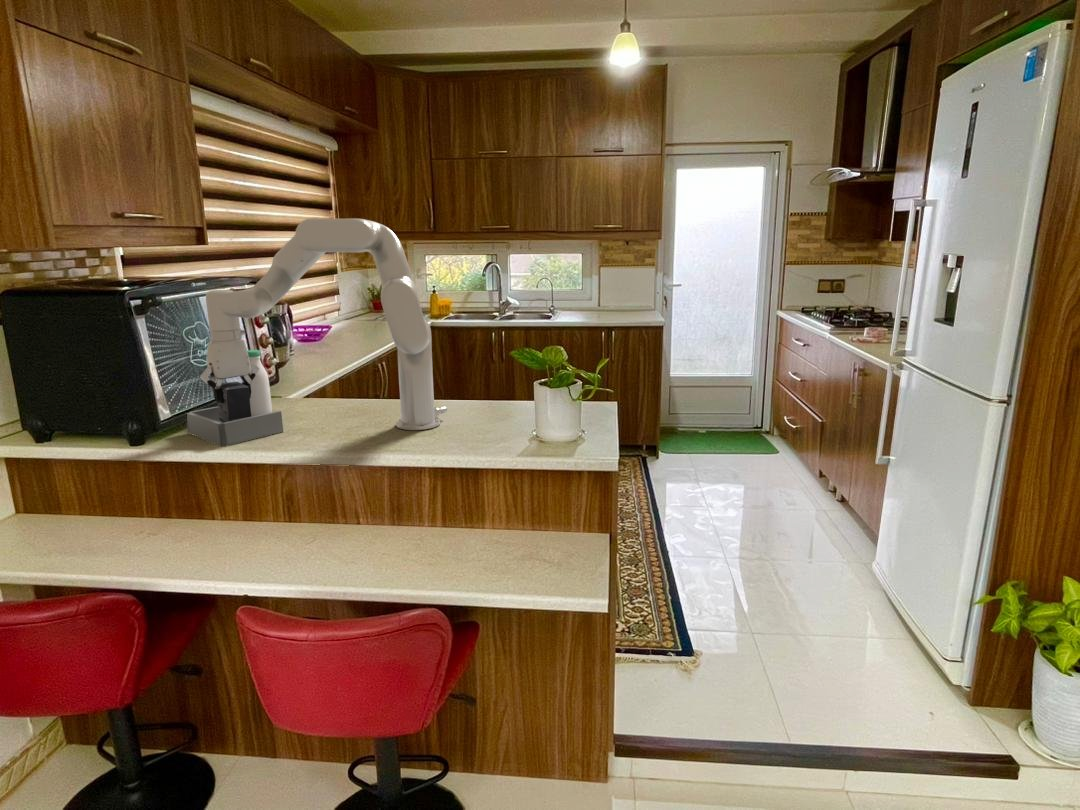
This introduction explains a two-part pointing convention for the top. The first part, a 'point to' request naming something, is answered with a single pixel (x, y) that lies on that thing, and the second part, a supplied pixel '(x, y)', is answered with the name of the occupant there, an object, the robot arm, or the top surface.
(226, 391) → the small box
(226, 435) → the tray
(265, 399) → the milk bottle
